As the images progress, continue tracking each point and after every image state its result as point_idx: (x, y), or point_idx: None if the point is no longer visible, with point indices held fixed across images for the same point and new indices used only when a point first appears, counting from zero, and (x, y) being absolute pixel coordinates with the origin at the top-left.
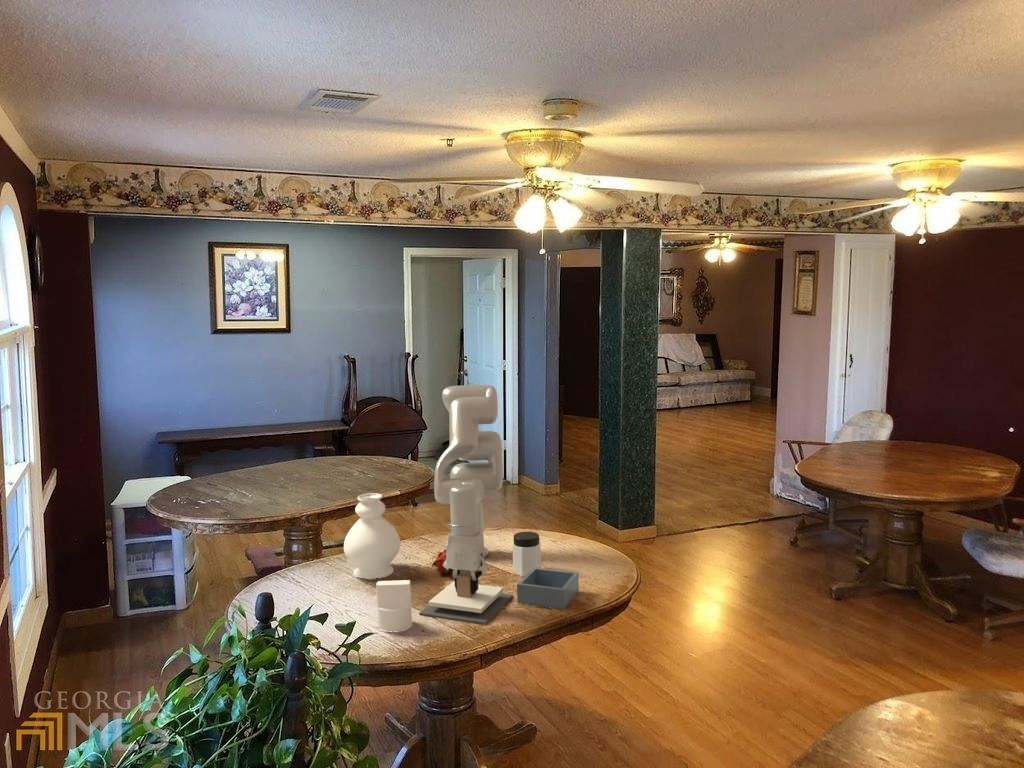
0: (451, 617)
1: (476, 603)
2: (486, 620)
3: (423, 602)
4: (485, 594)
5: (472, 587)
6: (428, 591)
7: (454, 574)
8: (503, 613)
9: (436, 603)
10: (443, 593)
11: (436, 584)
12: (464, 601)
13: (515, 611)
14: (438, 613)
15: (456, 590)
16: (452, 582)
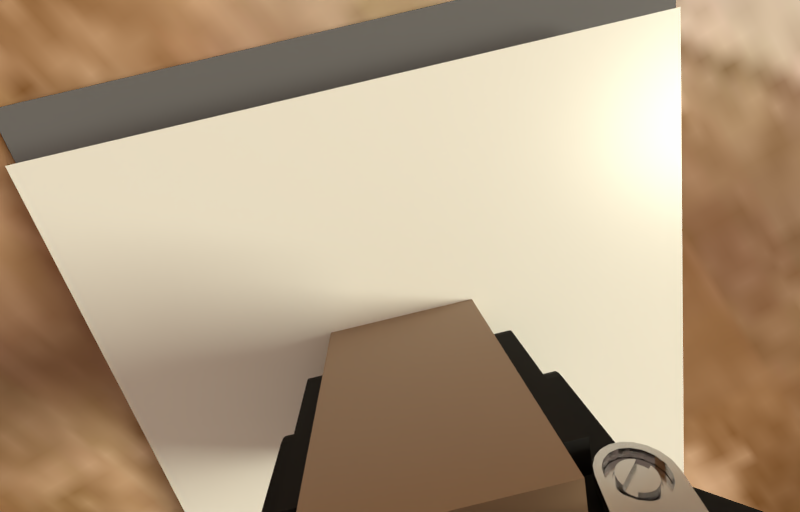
0: (338, 31)
1: (172, 261)
2: (21, 154)
3: (747, 201)
4: (264, 462)
5: (295, 427)
6: (796, 367)
7: (659, 504)
8: (77, 362)
9: (571, 34)
10: (635, 280)
11: (792, 470)
12: (319, 235)
13: (36, 430)
14: (502, 43)
15: (507, 337)
16: None
